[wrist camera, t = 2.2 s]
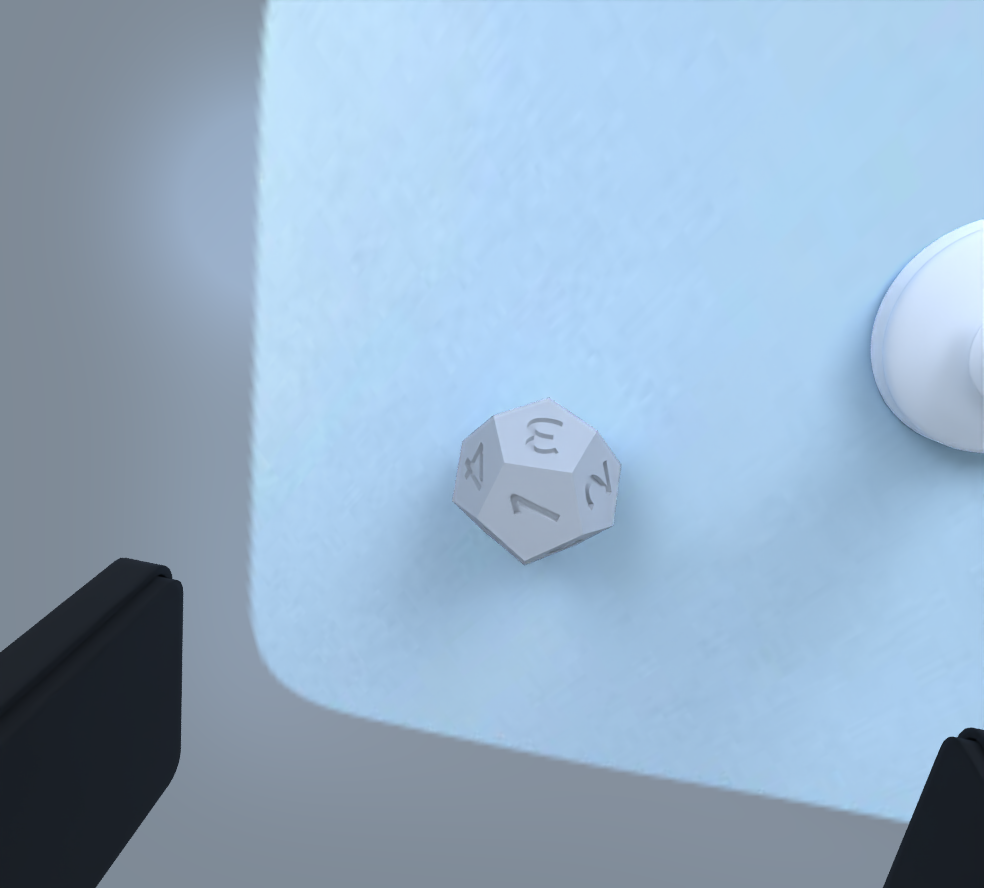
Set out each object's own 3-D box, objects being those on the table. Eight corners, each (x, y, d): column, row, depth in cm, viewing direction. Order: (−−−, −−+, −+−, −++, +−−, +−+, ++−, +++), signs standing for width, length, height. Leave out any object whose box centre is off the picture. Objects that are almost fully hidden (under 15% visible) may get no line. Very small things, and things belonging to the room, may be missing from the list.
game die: (578, 552, 20) (575, 617, 17) (440, 487, 20) (414, 541, 17) (647, 429, 19) (656, 476, 16) (500, 359, 18) (484, 395, 16)
